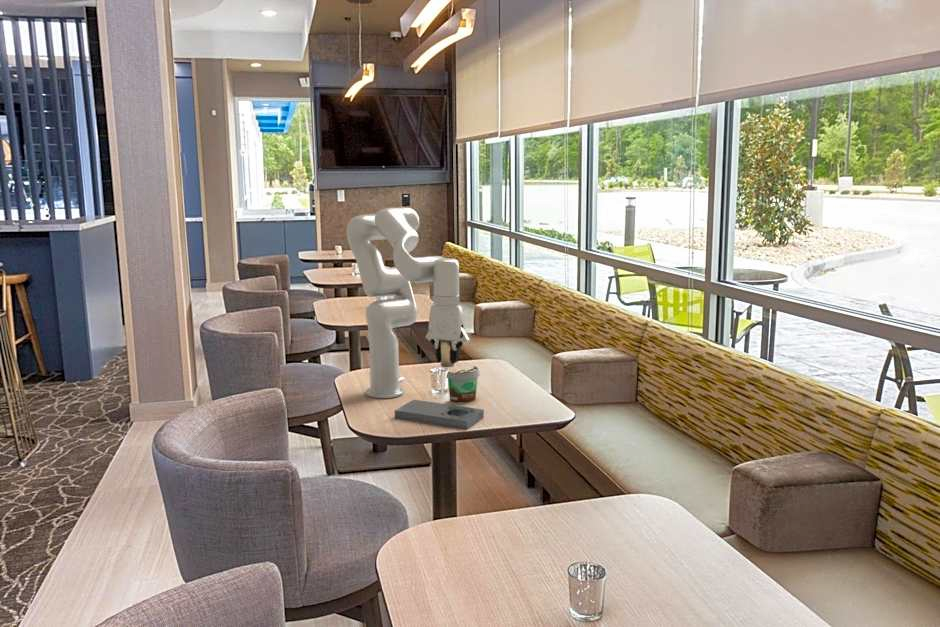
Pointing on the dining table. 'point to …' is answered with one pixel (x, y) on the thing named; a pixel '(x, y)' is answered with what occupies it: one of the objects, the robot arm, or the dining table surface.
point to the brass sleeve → (446, 353)
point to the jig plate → (439, 414)
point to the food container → (463, 385)
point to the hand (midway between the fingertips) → (447, 361)
